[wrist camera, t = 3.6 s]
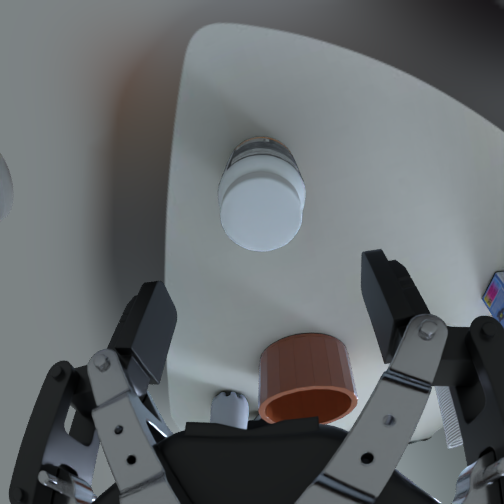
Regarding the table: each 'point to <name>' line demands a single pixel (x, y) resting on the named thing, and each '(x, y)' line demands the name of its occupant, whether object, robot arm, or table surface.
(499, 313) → the ink cartridge box
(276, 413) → the crock
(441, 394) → the cup
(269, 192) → the pill bottle
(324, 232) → the table surface
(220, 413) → the bottle
